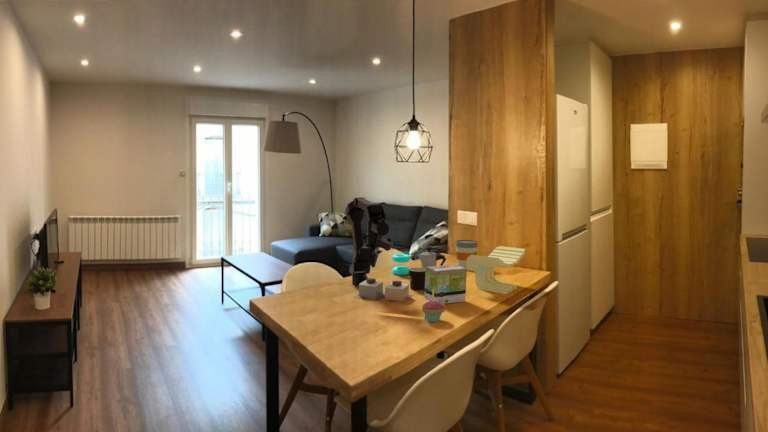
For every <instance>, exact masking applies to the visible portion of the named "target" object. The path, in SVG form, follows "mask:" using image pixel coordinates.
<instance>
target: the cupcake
mask: <svg viewBox="0 0 768 432" xmlns="http://www.w3.org/2000/svg"><path fill="white" fill-rule="evenodd" d="M421 309H422V310H421V311H422V312H423V313H424V315H425V318H426V321H427V322H432V323H434V322H435V323H436V322H439V321H440V318H441V316H442V313H444V312H445V310H446V309H445V304H442V303H440V302H437V301H434V290H432V301H430V300H427V301H426V302H425V303H423V304H422V308H421Z"/></svg>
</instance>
